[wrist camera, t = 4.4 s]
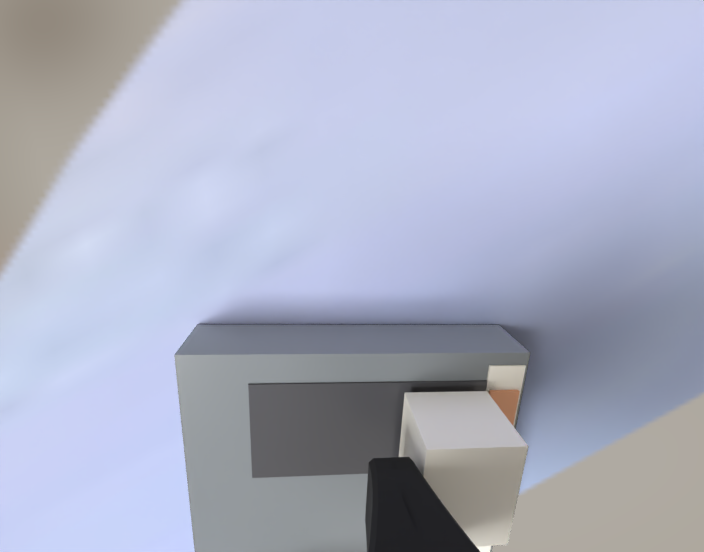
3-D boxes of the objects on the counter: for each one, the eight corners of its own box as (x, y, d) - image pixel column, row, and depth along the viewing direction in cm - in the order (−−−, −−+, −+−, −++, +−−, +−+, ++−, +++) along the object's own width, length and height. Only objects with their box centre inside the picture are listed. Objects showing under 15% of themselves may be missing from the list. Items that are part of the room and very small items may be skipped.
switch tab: (473, 475, 12) (507, 544, 9) (396, 478, 11) (414, 550, 9) (486, 391, 11) (528, 446, 9) (404, 392, 10) (426, 449, 8)
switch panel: (456, 579, 16) (476, 639, 14) (219, 595, 15) (204, 663, 13) (498, 324, 13) (533, 354, 11) (197, 324, 12) (172, 357, 10)
